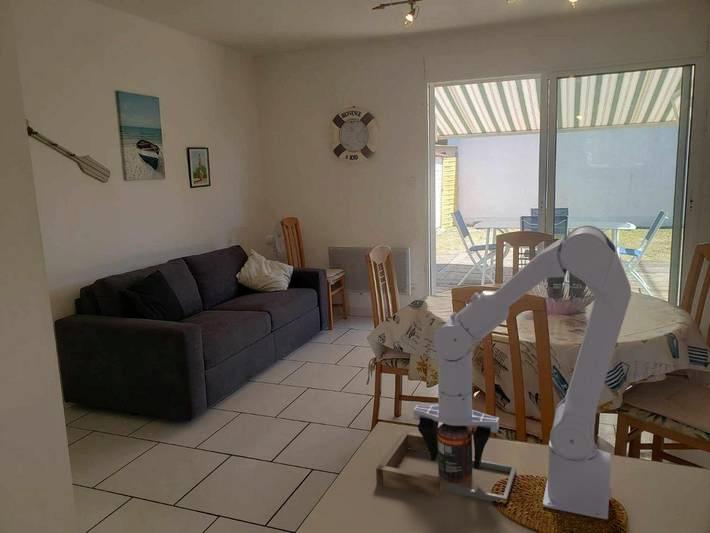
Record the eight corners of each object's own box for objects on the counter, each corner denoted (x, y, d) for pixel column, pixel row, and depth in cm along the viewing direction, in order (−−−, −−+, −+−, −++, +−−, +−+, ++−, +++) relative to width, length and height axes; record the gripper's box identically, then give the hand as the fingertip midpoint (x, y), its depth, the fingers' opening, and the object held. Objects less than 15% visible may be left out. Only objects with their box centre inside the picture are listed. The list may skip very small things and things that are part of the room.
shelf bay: (459, 454, 105) (459, 440, 104) (438, 497, 92) (438, 481, 91) (404, 444, 109) (403, 430, 109) (376, 483, 96) (376, 468, 96)
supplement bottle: (469, 465, 101) (469, 407, 99) (475, 484, 95) (475, 423, 93) (436, 466, 101) (435, 408, 99) (440, 485, 95) (439, 424, 93)
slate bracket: (515, 471, 98) (516, 466, 98) (506, 504, 89) (506, 498, 89) (462, 461, 102) (462, 456, 102) (448, 491, 93) (448, 486, 93)
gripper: (502, 385, 95) (501, 458, 98) (421, 375, 101) (422, 444, 104) (494, 402, 89) (494, 479, 92) (409, 390, 95) (410, 463, 98)
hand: (455, 462), depth 97 cm, fingers open, 7 cm apart
